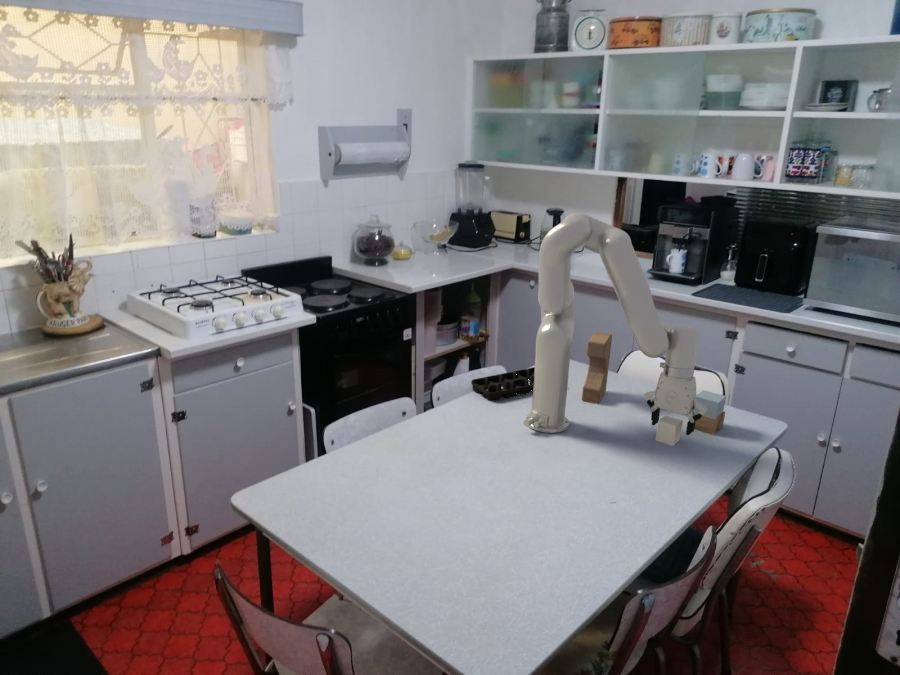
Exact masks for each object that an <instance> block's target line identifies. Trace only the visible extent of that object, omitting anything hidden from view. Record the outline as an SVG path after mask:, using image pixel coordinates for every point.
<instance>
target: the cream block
mask: <svg viewBox="0 0 900 675" xmlns="http://www.w3.org/2000/svg"><path fill="white" fill-rule="evenodd" d="M683 423H684V420H683V419H679V418H677V417H674V416H670V415H667V414H665V415H664V416H662V417H661V418H659V420H658V423H657V427H656V433H655V434H656V435H655V441H657V442H661V443H663V444H666V445H669V446H673V447H674V446H675V445H676V444H677V443H678V442H679V441H681V437H682V436H681V435H682V429H683Z"/></svg>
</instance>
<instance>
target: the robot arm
mask: <svg viewBox="0 0 900 675" xmlns="http://www.w3.org/2000/svg"><path fill="white" fill-rule="evenodd" d="M580 248H584V249H586V250H588V251H591V252H593V253H595V254H598V255H599V256H600V259H601V261H602V264H603V266H604V269H605V271H606V273H607V274H608V278H609V279H610V282H611V284H612V286H613V289H614V292H615V294H616V297H617V299H618V301H619V304H620V306H621V308H622V310H623V312H624V315H625V317H626V319H627V322H628V325H629V327H630V330H631V332H632V335H633V337H634V338H635V341H636V343H637V346H638V348H639V350H640V351H641V353H642V354H643V355H644V356H646V357H649V358H651V359H656V358H657V359H658V358H660V357H662V356H664V355H665V361H664V362H660V363H659V367H660V368H661V369H663V371H661V372H660V374H659V377H658V380H657V385H656V388H655V389H654V390H650V391H646V392H644V394H643V395H644V398H645V400H646V404H647V405H648V406H649V408H650V411H651V417H650V421H651V425H652V426H656V425H658V420H660V414H661V410H664V411H667V412H670V413H674V414H676V415H677V414H678V415H681V416H686V417H687V419H688V421H687V422H686V430H685V435H686V436H690V435H691V434H692V433H694V432H695V422H696V420H698V419H700V418H701V417H702V416H703V415H704V414H705V413H706V412H707V411H708V409H707V408H706V407H705V406H704V405H703V404H701V403H700V402H699V401H697V400H696V395H697V382H696V381H697V380H696V376H694V373H695V365H696V359H697V349H698V343H699V330H698V329H697V328H696V327H694V326H692V325H689V324H672V323H667V322H662V321H661V319H660V317H659V314H658V312H657V309H656V306H655V303H654V298H653V295H652V290H651V288H650V285H649V281H648V279H647V277H646V274H645V273H644V270H643V267H642V265H641V263H640V260H639V258H638V256H637V254H636V251H635V249H634V246H633V244H632V239H631V237H630V235H629V234H628V233H627V232H626V231H624V230H623V229H620V228H619V227H615V226H613V225H611V224H608V223H606V222H603V221H601V220H599V219H597V218H594V217H592V216H589V215H587V214H585V213H581V212H573V213H571V214H568V215H567V216H565V218H564V219H563V220H562V221H561V222H560V223H558V224H557V225H555V226H554V227H553V228H551V229H550V230H549V231H548V232H547V234H545V236H544V237H543V239H542V241H541V244H540V248H539V252H538V253H539V254H538V291H537V300H538V304H539V306H540V317H541V318H540V324H539V327H538V330H537V332H536V338H535V357H534V358H535V360H534V367H535V375H534V387H533V392H532V402H531V411H530V413H529V414H527V415H526V416H525V419H524V420H523V425H524V426H525V427H529V428H530V429H532V430H534V431H537V432H541V433H547V434H549V433H550V434H557V433H561V432H564V431H566V430H568V428H569V427H570V420H569V418H568V417H566V415H565V414H566V404H567V395H568V384H569V372H570V362H571V360H570V359H571V350H572V344H573V342H572V341H573V337H574V329H575V288H574V284H573V282H572V281H571V270H572V269H571V268H572V267H571V266H572V264H571V262H572V256H573V253H575V251H577V250H579V249H580ZM653 397H654V398H653ZM652 398H653V399H652ZM695 407H696V408H698V409H699V410H700V412H699V413H698V414H697V415H696V413H695V412H694V409H695Z"/></svg>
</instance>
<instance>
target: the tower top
mask: <svg viewBox="0 0 900 675" xmlns="http://www.w3.org/2000/svg"><path fill="white" fill-rule="evenodd" d="M726 398H727V396H726V395H723V394H720V393H716V392H713V391H708V390H704V389H703V390H701V391H700V392H699V393H698V394H696V400H697V401H699V402H700V403H701V404H703V405H704V406H705V407H706V408H707V409H708V411H707V412H706V413H705V414H704V416H707V417H711V418H714V419H716V418H717V417H718V416H719V415H720V414H721V413H723V411H724V410H725V409H724V408H725V405H726V404H725V403H726ZM694 412H695V413H697V414H698V413H699V412H700V410H699V409H698V408H696V407H695V409H694Z"/></svg>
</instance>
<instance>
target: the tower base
mask: <svg viewBox="0 0 900 675" xmlns="http://www.w3.org/2000/svg"><path fill="white" fill-rule="evenodd" d="M696 415H697V413H696ZM725 415H726V411H724V410H723V413H721V414H720V415H719V416H718V417H717V418H716V419H714V418H711V417H707V416H704V415H703V416H702V417H701V418H700V419H698V420H696V422H695V429H694V431H695V430H696V431H698V432H702V433H704V434H708V435H712V436H715V435H716V434H717V433H719V431H720V430H721V429H723V428H724V427H723V426H724V421H725V417H726V416H725Z"/></svg>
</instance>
